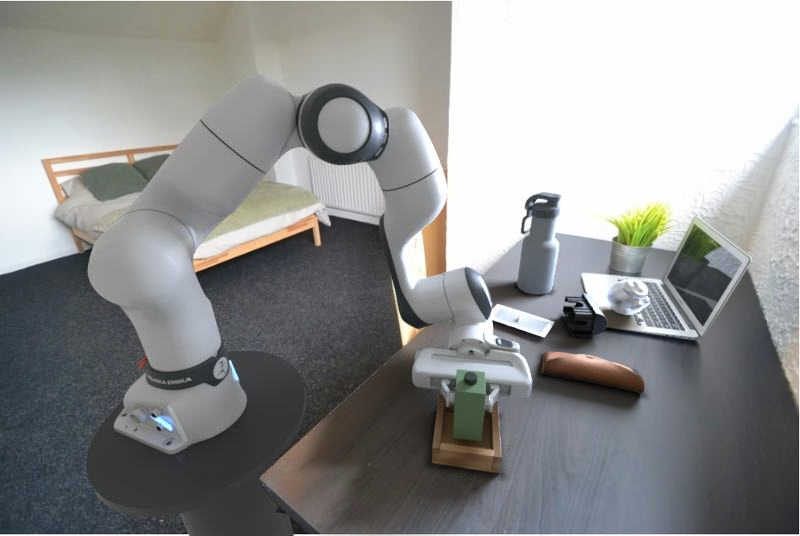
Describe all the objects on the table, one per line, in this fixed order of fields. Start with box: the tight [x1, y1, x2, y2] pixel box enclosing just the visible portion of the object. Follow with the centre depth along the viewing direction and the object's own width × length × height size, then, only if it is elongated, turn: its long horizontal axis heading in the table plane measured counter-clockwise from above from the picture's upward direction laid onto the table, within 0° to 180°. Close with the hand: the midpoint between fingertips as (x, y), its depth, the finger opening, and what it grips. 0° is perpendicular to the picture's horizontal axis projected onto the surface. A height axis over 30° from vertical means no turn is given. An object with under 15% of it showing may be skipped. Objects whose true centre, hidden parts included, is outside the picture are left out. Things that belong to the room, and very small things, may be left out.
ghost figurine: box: [606, 278, 651, 316], centre depth 95 cm, size 9×10×10 cm
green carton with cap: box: [453, 369, 487, 442], centre depth 60 cm, size 4×5×11 cm
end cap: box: [562, 292, 609, 338], centre depth 90 cm, size 10×7×7 cm
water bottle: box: [516, 191, 562, 296], centre depth 104 cm, size 10×10×28 cm
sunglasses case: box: [540, 351, 645, 395], centre depth 75 cm, size 18×7×7 cm
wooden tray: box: [431, 393, 503, 474], centre depth 62 cm, size 10×11×4 cm
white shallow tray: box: [491, 303, 556, 338], centre depth 93 cm, size 8×15×2 cm, turn 53°
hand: (469, 407), depth 59 cm, fingers closed on green carton with cap, 4 cm apart
